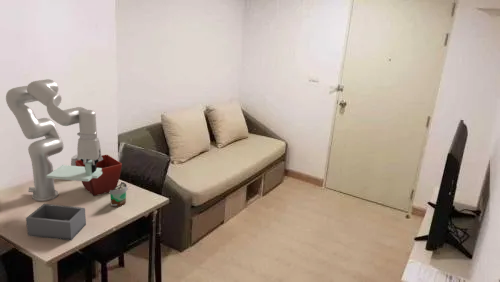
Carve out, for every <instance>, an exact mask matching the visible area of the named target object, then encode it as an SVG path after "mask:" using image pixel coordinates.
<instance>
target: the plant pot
mask: <svg viewBox="0 0 500 282" xmlns="http://www.w3.org/2000/svg"><path fill="white" fill-rule="evenodd" d="M101 156H102V157H103V160H102V161H99V162H97V163H96V168H102V170H101V171H102V175H101V176H99V177H98V178H92V179H91V180H90V181H81V183H82V186H83V188H84V189H85V190H86V191H87V192H88V193H89V194H91V195H92V196H94V197H95V196H99V195H102V194H107V193H110V190H113V189H114V188H115V187H116V186H118V185H119V180H120V177H121V174H122V166H123V163H122V162H120V161H119V160H117V159H116V158H113V157H112V156H110V155H109V154H103V155H102V154H101ZM98 159H99V158H98ZM88 161H89V160H88ZM75 163H76V166H81V167H85V164H84V163H83V162H82V161H81V160H77V161H75Z"/></svg>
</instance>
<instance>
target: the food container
mask: <svg viewBox="0 0 500 282" xmlns="http://www.w3.org/2000/svg"><path fill="white" fill-rule="evenodd" d="M128 188H129V187H128V185H127V183H125V182H123V181H120V183H119V184H117V186H116V187H115V188H114V189H113V190H110V192H108V193H109V194H108V195H109V196H110V205H111V206H110V207H112V208H118V207H122V205H123V206H124V205H126V203H127V191H128V190H129V189H128Z"/></svg>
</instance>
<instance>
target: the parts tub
mask: <svg viewBox="0 0 500 282" xmlns="http://www.w3.org/2000/svg"><path fill="white" fill-rule="evenodd" d="M25 222H26V231H27V236H28V237H35V238H45V239H54V240H55V239H56V240H64V241H72V240H74V238H76V236H77V235H78V234H79V233H80V232H81V231H82V230H83V229H84V228H85V226H86V225H87V218H86V207H81V206H80V207H79V206H69V205H61V204H60V205H59V204H52V203H51V204H49V203H43V204H42V205H41V206H39V207H38V208H37V209H35V210H34V211H33V212H31V213H30V215H28V216H26V217H25Z"/></svg>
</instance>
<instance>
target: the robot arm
mask: <svg viewBox="0 0 500 282" xmlns="http://www.w3.org/2000/svg"><path fill="white" fill-rule="evenodd" d="M58 92H59V85H58V84H57V82H56V81H55V80H53V79H49V78H48V79H47V78H46V79H40V80H33V81H31V82H30V83H28V84H27V85H24V86H16V87H13V88H11V89H9V90H8V91H7V92H6V95H5V100H6V101H5V102H6V104H7V107H8V108H9V110H10V111H11V112H12V114H13V115H14V117H15V120H16V121H17V123H18V125H19V127H20V129H21V131H22V134H23V136H24V137H25V138H26V139H27V140H36V141H33V142H32V143H30V144H29V146H28V148H27V150H28V155H29V158H30V162H31V167H32V168H31V169H32V174H33V175H32V177H33V185H34V186H29V187H28V193H32V194H31V198H32V200H34V201H37V202H38V201H39V202H45V201H46V202H47V201H50V200H51V201H52V200H54V199H56V198H57V197H58V196H59V192H58V190H56V188H55V179H53V178H47V175H48V174H50V173H51V172H53V171H54V168H53V167H54V166H53V163H52V161H51V160H50V159H49V157H51V156H54V155H57V154H59V153H61V152H63V150H64V148H65V147H64V142H63V139H62V137H61V135H60V133H59V131H58V129H57V128H58V127H56V124H55V123H54V122H56V123H57V125H58V124H59V125H61V126H62V127H63V126H64V127H68V126H69V127H70V126H72V125H76V124H78V127H79V132H77V134H76V135H77V136H79V138H78V139H77V149H76V150H77V153H76V155H77V154H78V156H77V158H78V159H79V160H81V161H82V162H83V163H84V164H85V163H87V162H88V160H92V173H94V172H95V171H96V169H97V168H96V163H97V162H99V161H102V160H103V157H102V149H101V148H102V147H101V143H100V139H99V137H98V134H97V133H98V132H97V116H96V112H95V111H94V109H92V110H91V109H86V108H84V107H82V106H76V107H72V108H68V109H67V108H66V109H64V110H63V109H61V108H60V107H59V106H60V104H61V103H62V95H61V94H60V93H58ZM33 102H39V103H40V104H42V105H43V106H45V107H46V111H47V114H48V116H49V118H47V117H43V118H42V117H41V118H37V117H36V114H35V113H34V110H32V108H31V107H29V106H28V105H26V104H29V103H33ZM51 119H52V120H51ZM42 137H43V138H42ZM39 138H42V139H39ZM37 139H39V140H37ZM98 158H99V159H98Z"/></svg>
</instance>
